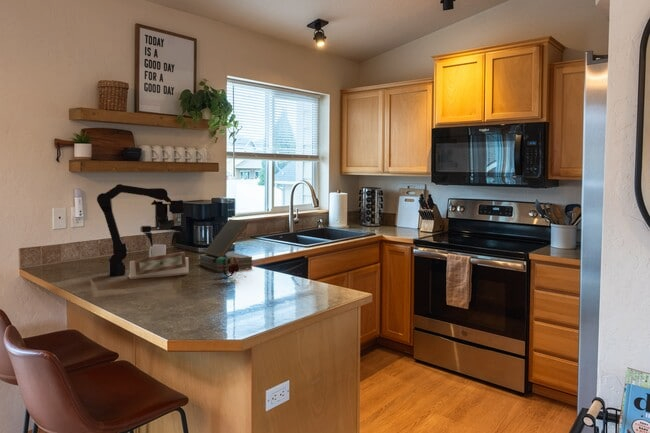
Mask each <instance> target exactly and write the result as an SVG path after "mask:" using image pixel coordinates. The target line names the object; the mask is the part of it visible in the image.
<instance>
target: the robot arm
mask: <svg viewBox="0 0 650 433" xmlns="http://www.w3.org/2000/svg"><path fill="white" fill-rule="evenodd" d="M123 193H125V194H132V195H137V196H138V195H139V196H146V197H149V198H152V199H154V200H153V201H152V202H151V203H150V205H152V206H155V207H154V215H155V216H154V220H155V221H154V223H155V224H154V225H155V226H151V225H141V226H140V233H143V234H144V235H146V237H147V238H148V242H149V245H150V247H153V245H154V244H153V243H154V242H153V237H152V236H153V233H152V231H154V232H155V231H157V232H158V231H170V246H173V244H174V241H175V239H176V237H177V235H178V234H180V232H183V226H182V225H181V224H175V220H174V219H169V213H171V215H184V212H185V211H184V210H185V209H184V207H185V206H184V200H183V199H179V200H172V199H171V198H170V197H169V196H168V195H169V194H168V191H167V190H166V189H165V188H162V187H161V188H159V187H158V188H157V187H155V188H154V187H153V188H152V187H151V188H147V187H140V186H132V185H126V184H125V185H123V184H121V183H119V184H117V185H115V186H114V187H113V188H111V189H109V190H108V191H106V192H102V193H99V194H98V195H97V197H96V202H97V204H98V206H99V208H100V209H101V211H102V212H103V215H104V217H105V222H106V225H107V227H108V231H109V234H110V238H111V241H112V250H113V252H112V255H111V256H110V258H109V259H108V261H109V262H108V277H109V278H110V277H124V276H126V265H125V263H124V261H123V260H124V259H126V257H127V255H128V253H129V248H128V246H127V244H128V243H127V241H124V242H123V240H122V237H121V234H120V231H119V227H118V225H117V221H116V218H115V215H114V210H113V201H112V200H113V199H114V198H116V197H118V195H120V194H123ZM157 200H159V201H157ZM164 201H165V202H166V203H164ZM168 212H169V213H168Z"/></svg>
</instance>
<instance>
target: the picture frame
mask: <svg viewBox="0 0 650 433" xmlns="http://www.w3.org/2000/svg"><path fill="white" fill-rule="evenodd" d="M185 253H186V252H185V251H181V252H173V253H169V254H168V253H166V255H160V256H154V257H152V256H151V257H149V256H148V257H144V258H143V257H142V258H135V259H134V261H135V266H136V275H141V274H147V273H153V272H159V271H164V270H170V269H176V268H182V267H186V261H185V257H186V254H185Z"/></svg>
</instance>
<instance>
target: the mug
mask: <svg viewBox="0 0 650 433" xmlns="http://www.w3.org/2000/svg"><path fill="white" fill-rule="evenodd" d="M166 250H167V245H166V244H163V243H161V244H160V243H159V244H157V243H155V244H153V247H151V246H150V247H149V250H148V257H154V256H160V255H167V253H166V252H167V251H166Z"/></svg>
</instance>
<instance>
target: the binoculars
mask: <svg viewBox="0 0 650 433" xmlns="http://www.w3.org/2000/svg"><path fill="white" fill-rule="evenodd" d="M213 262H214V263H216V262H217V264H223V265H228V264H231V265H232V266H229V269H228V271H225V268H226V267H227V266H222V267H223V272H222V273H223V275H225V276H226V277H233V275H234V273H237V272H239V271H240V270H239V266H238V262H239V257H236V258H235V257H232V256H231V257H227V256H226V255H224V256H223V257H219V258H218V259H216V258H214V259H213ZM234 263H237V264H234ZM227 272H228V273H229V274H230V275H228V274H227Z"/></svg>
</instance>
